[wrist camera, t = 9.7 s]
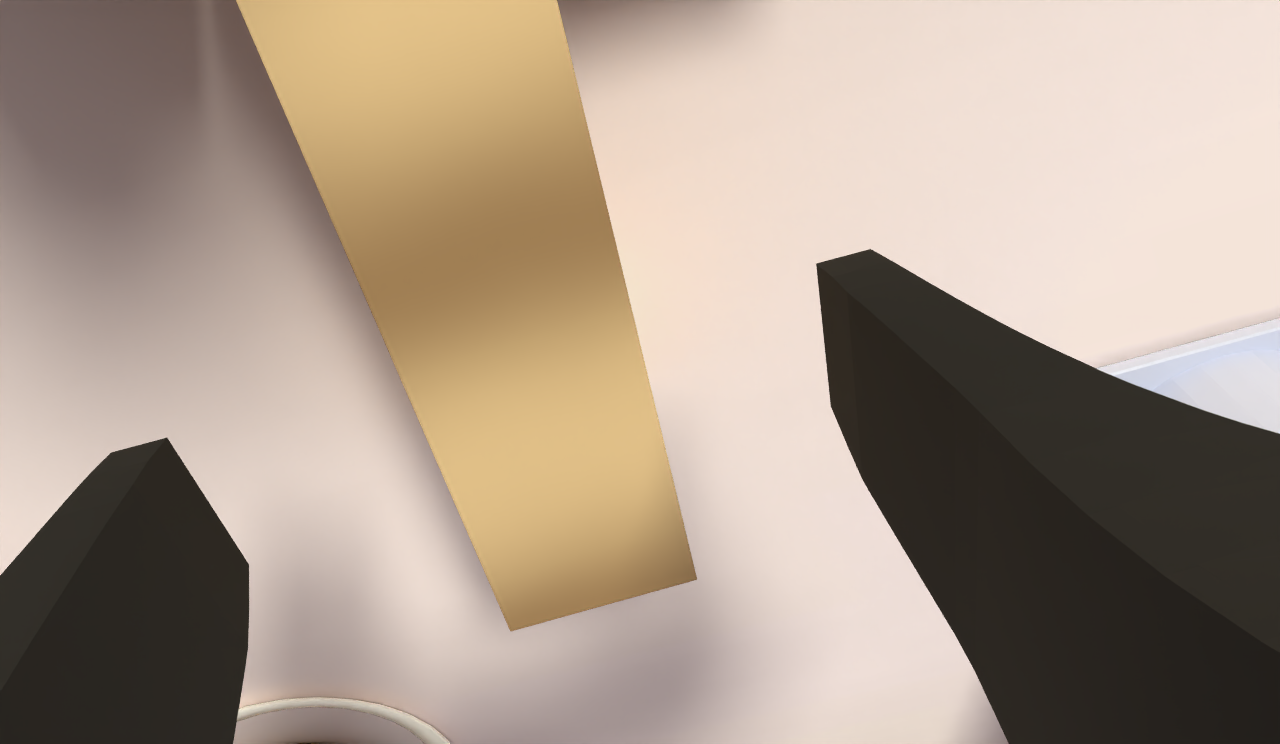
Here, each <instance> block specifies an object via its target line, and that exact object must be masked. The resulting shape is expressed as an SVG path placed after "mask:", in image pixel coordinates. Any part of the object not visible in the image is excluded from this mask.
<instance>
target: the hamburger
mask: <svg viewBox="0 0 1280 744" xmlns="http://www.w3.org/2000/svg"><path fill="white" fill-rule="evenodd" d="M307 707H328V708H344V709H350V710H355V711H361V712H366V713H370V714H373V715H376V716H379V717H382V718H385V719H388V720H391V721H393V722H395V723H397V724H399V725H400V726H402V727H404V728H406V729H408V730H410V731H411V732H412V733H413V734H414V735H415V736H417V737H418V738H419V739H420V740H421V741H423V743H424V744H451V743H450V742H449V740H447V739H446V738H445V737H444V736H443V735H442V734H440V733H439V732H438V731H437V730H436V729H435V728H433V727H432V726H431V725H429V724H427V723H425V722H423V721H421V720H420V719H418V718H416V717H414V716H412V715H410V714H408V713H405V712H402V711H399V710H396V709H393V708H390V707H387V706H384V705H381V704H375V703H370V702H365V701H359V700H354V699H343V698H325V697H311V698H295V699H281V700H276V701H271V702H265V703H260V704H254V705H249V706H245V707H242V708H239V710H238V716H237V721H240V720H243V719H246V718H249V717H253V716H256V715H259V714H263V713H268V712H273V711H279V710H284V709H292V708H307ZM313 744H317V743H313Z"/></svg>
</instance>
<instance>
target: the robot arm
mask: <svg viewBox="0 0 1280 744" xmlns="http://www.w3.org/2000/svg"><path fill="white" fill-rule="evenodd" d="M816 265H817V275H818V285H819V295H820V304H821V314H822V324H823V334H824V343H825V353H826V363H827V373H828V382H829V392H830V402H831V408H832V410H833V412H834V415H835V417H836V419H837V422H838V424H839V427H840V429H841V431H842V434H843V436H844V438H845V441H846V443H847V446H848V448H849V450H850V452H851V455H852V457H853V459H854V461H855V464H856V466H857V468H858V470H859V473H860V475H861V477H862V479H863V481H864V483H865V485H866V486H867V488H868V490H869V492H870V493H871V495H872V497H873V498H874V500H875V502H876V503H877V505H878V507H879V509H880V510H881V512H882V514H883V515H884V517H885V519H886V520H887V522H888V524H889V525H890V527H891V529H892V530H893V532H894V534H895V536H896V537H897V539H898V541H899V542H900V544H901V546H902V547H903V549H904V550H905V552H906V554H907V555H908V557H909V559H910V560H911V562H912V564H913V565H914V567H915V569H916V570H917V572H918V574H919V575H920V577H921V579H922V580H923V582H924V584H925V585H926V587H927V589H928V590H929V592H930V594H931V595H932V597H933V599H934V600H935V602H936V604H937V605H938V607H939V609H940V610H941V612H942V614H943V615H944V617H945V619H946V620H947V622H948V624H949V625H950V627H951V629H952V630H953V632H954V634H955V635H956V637H957V639H958V641H959V643H960V645H961V646H962V648H963V650H964V652H965V654H966V656H967V657H968V659H969V661H970V663H971V665H972V667H973V669H974V670H975V672H976V674H977V676H978V679H979V681H980V683H981V685H982V687H983V689H984V691H985V694H986V696H987V698H988V700H989V702H990V704H991V706H992V709H993V711H994V713H995V715H996V717H997V719H998V721H999V724H1000V726H1001V728H1002V730H1003V732H1004V734H1005V736H1006V739H1007V741H1008V743H1009V744H1280V318H1278V319H1274V320H1270V321H1267V322H1263V323H1260V324H1256V325H1252V326H1249V327H1245V328H1241V329H1238V330H1234V331H1231V332H1227V333H1223V334H1220V335H1216V336H1212V337H1209V338H1205V339H1201V340H1198V341H1194V342H1191V343H1187V344H1183V345H1180V346H1176V347H1172V348H1169V349H1165V350H1162V351H1158V352H1154V353H1151V354H1147V355H1143V356H1140V357H1136V358H1133V359H1129V360H1125V361H1122V362H1118V363H1114V364H1111V365H1107V366H1103V367H1100V368H1094V367H1092V366H1089V365H1087V364H1085V363H1083V362H1081V361H1078V360H1076V359H1074V358H1072V357H1070V356H1067V355H1065V354H1063V353H1061V352H1059V351H1057V350H1054V349H1052V348H1050V347H1048V346H1046V345H1044V344H1042V343H1040V342H1038V341H1036V340H1034V339H1032V338H1030V337H1028V336H1026V335H1024V334H1022V333H1020V332H1018V331H1016V330H1014V329H1012V328H1010V327H1008V326H1006V325H1004V324H1002V323H1000V322H999V321H997V320H995V319H993V318H991V317H989V316H987V315H986V314H984V313H982V312H980V311H978V310H976V309H974V308H973V307H971V306H969V305H967V304H965V303H964V302H962V301H960V300H958V299H956V298H955V297H953V296H951V295H950V294H948V293H946V292H944V291H943V290H941V289H939V288H937V287H936V286H934V285H932V284H930V283H929V282H927V281H925V280H923V279H922V278H920V277H918V276H917V275H915V274H913V273H911V272H910V271H908V270H906V269H905V268H903V267H901V266H899V265H898V264H896V263H894V262H893V261H891V260H889V259H887V258H886V257H884V256H882V255H880V254H878V253H877V252H875V251H873V250H871V249H869V250H866V251H862V252H858V253H854V254H851V255H847V256H843V257H839V258H836V259H832V260H828V261H824V262H821V263H817V264H816ZM248 629H249V564H248V562H247V561H246V559H245V558H244V556H243V555H242V553H241V552H240V550H239V549H238V547H237V545H236V544H235V542H234V541H233V539H232V538H231V536H230V535H229V533H228V531H227V530H226V528H225V527H224V525H223V524H222V522H221V521H220V519H219V518H218V516H217V514H216V513H215V511H214V510H213V508H212V507H211V505H210V504H209V502H208V500H207V499H206V497H205V496H204V494H203V493H202V491H201V490H200V488H199V486H198V485H197V483H196V482H195V480H194V479H193V477H192V476H191V474H190V473H189V471H188V469H187V468H186V466H185V465H184V463H183V462H182V460H181V459H180V457H179V455H178V454H177V452H176V451H175V449H174V448H173V446H172V445H171V443H170V441H169V440H168V438H164V439H160V440H157V441H153V442H149V443H145V444H142V445H138V446H134V447H130V448H127V449H123V450H119V451H116V452H112V453H110V454H109V455H108V456H107V457H106V458H105V459H104V460H103V461H102V462H101V463H100V464H99V465H98V466H97V467H96V468H95V469H94V470H93V471H92V472H91V473H90V474H89V475H88V477H87V478H86V479H85V480H84V481H83V482H82V483H81V484H80V485H79V486H78V487H77V489H76V490H75V491H74V492H73V493H72V494H71V495H70V496H69V498H68V499H67V500H66V501H65V502H64V503H63V504H62V505H61V507H60V508H59V509H58V510H57V511H56V512H55V513H54V515H53V516H52V517H51V518H50V519H49V520H48V522H47V523H46V524H45V525H44V526H43V527H42V528H41V530H40V531H39V532H38V533H37V534H36V535H35V537H34V538H33V539H32V540H31V541H30V542H29V543H28V545H27V546H26V547H25V548H24V549H23V550H22V551H21V553H20V554H19V555H18V556H17V557H16V558H15V559H14V561H13V562H12V563H11V564H10V565H9V566H8V567H7V569H6V570H5V571H4V572H3V573H2V574H1V575H0V744H233V740H234V734H235V728H236V722H237V716H238V710H239V704H240V697H241V691H242V684H243V678H244V672H245V665H246V658H247V651H248Z"/></svg>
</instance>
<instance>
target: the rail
mask: <svg viewBox="0 0 1280 744" xmlns="http://www.w3.org/2000/svg"><path fill="white" fill-rule="evenodd" d="M236 2H237V4H238V6H239V9H240V11H241V13H242V15H243V18H244V20H245V22H246V25H247V27H248V29H249V32H250V34H251V36H252V38H253V41H254V43H255V45H256V48H257V50H258V52H259V55H260V57H261V59H262V61H263V64H264V66H265V68H266V71H267V73H268V75H269V78H270V80H271V82H272V84H273V87H274V89H275V91H276V94H277V96H278V98H279V101H280V103H281V105H282V107H283V110H284V112H285V114H286V117H287V119H288V121H289V123H290V126H291V128H292V130H293V133H294V135H295V137H296V140H297V142H298V144H299V146H300V149H301V151H302V153H303V156H304V158H305V160H306V163H307V165H308V167H309V169H310V172H311V174H312V176H313V179H314V181H315V183H316V186H317V188H318V190H319V192H320V195H321V197H322V199H323V202H324V204H325V206H326V209H327V211H328V213H329V215H330V218H331V220H332V222H333V225H334V227H335V229H336V231H337V234H338V236H339V238H340V241H341V243H342V245H343V248H344V250H345V252H346V254H347V257H348V259H349V261H350V264H351V266H352V268H353V271H354V273H355V275H356V277H357V280H358V282H359V284H360V287H361V289H362V291H363V294H364V296H365V298H366V300H367V303H368V305H369V307H370V310H371V312H372V314H373V317H374V319H375V321H376V323H377V326H378V328H379V330H380V333H381V335H382V337H383V339H384V342H385V344H386V346H387V349H388V351H389V353H390V356H391V358H392V360H393V362H394V365H395V367H396V369H397V372H398V374H399V376H400V379H401V381H402V383H403V385H404V388H405V390H406V392H407V395H408V397H409V399H410V402H411V404H412V406H413V408H414V411H415V413H416V415H417V418H418V420H419V422H420V425H421V427H422V429H423V431H424V434H425V436H426V438H427V441H428V443H429V445H430V448H431V450H432V452H433V454H434V457H435V459H436V461H437V464H438V466H439V468H440V470H441V473H442V475H443V477H444V480H445V482H446V484H447V487H448V489H449V491H450V493H451V496H452V498H453V500H454V503H455V505H456V507H457V510H458V512H459V514H460V516H461V519H462V521H463V523H464V526H465V528H466V530H467V533H468V535H469V537H470V539H471V542H472V544H473V546H474V549H475V551H476V553H477V556H478V558H479V560H480V562H481V565H482V567H483V569H484V572H485V574H486V576H487V578H488V581H489V583H490V585H491V588H492V590H493V592H494V595H495V597H496V599H497V601H498V604H499V606H500V608H501V611H502V613H503V615H504V618H505V620H506V622H507V624H508V627H509V629H510V631H514V630H517V629H521V628H525V627H528V626H532V625H535V624H539V623H543V622H546V621H550V620H553V619H557V618H561V617H564V616H568V615H571V614H575V613H579V612H582V611H586V610H589V609H593V608H596V607H600V606H604V605H607V604H611V603H614V602H618V601H622V600H625V599H629V598H632V597H636V596H640V595H643V594H647V593H650V592H654V591H658V590H661V589H665V588H668V587H672V586H676V585H679V584H683V583H686V582H690V581H694V580H697V577H696V573H695V569H694V565H693V561H692V557H691V552H690V548H689V544H688V540H687V536H686V532H685V528H684V523H683V519H682V515H681V511H680V507H679V503H678V499H677V495H676V490H675V486H674V482H673V478H672V474H671V470H670V466H669V461H668V457H667V453H666V449H665V445H664V441H663V437H662V433H661V428H660V424H659V420H658V416H657V412H656V408H655V404H654V399H653V395H652V391H651V387H650V383H649V379H648V375H647V370H646V366H645V362H644V358H643V354H642V350H641V346H640V342H639V337H638V333H637V329H636V325H635V321H634V317H633V313H632V308H631V304H630V300H629V296H628V292H627V288H626V284H625V279H624V275H623V271H622V267H621V263H620V259H619V255H618V251H617V246H616V242H615V238H614V234H613V230H612V226H611V222H610V217H609V213H608V209H607V205H606V201H605V197H604V193H603V189H602V184H601V180H600V176H599V172H598V168H597V164H596V160H595V155H594V151H593V147H592V143H591V139H590V135H589V131H588V126H587V122H586V118H585V114H584V110H583V106H582V102H581V98H580V93H579V89H578V85H577V81H576V77H575V73H574V69H573V64H572V60H571V56H570V52H569V48H568V44H567V40H566V36H565V31H564V27H563V23H562V19H561V15H560V11H559V7H558V2H557V0H236Z"/></svg>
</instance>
